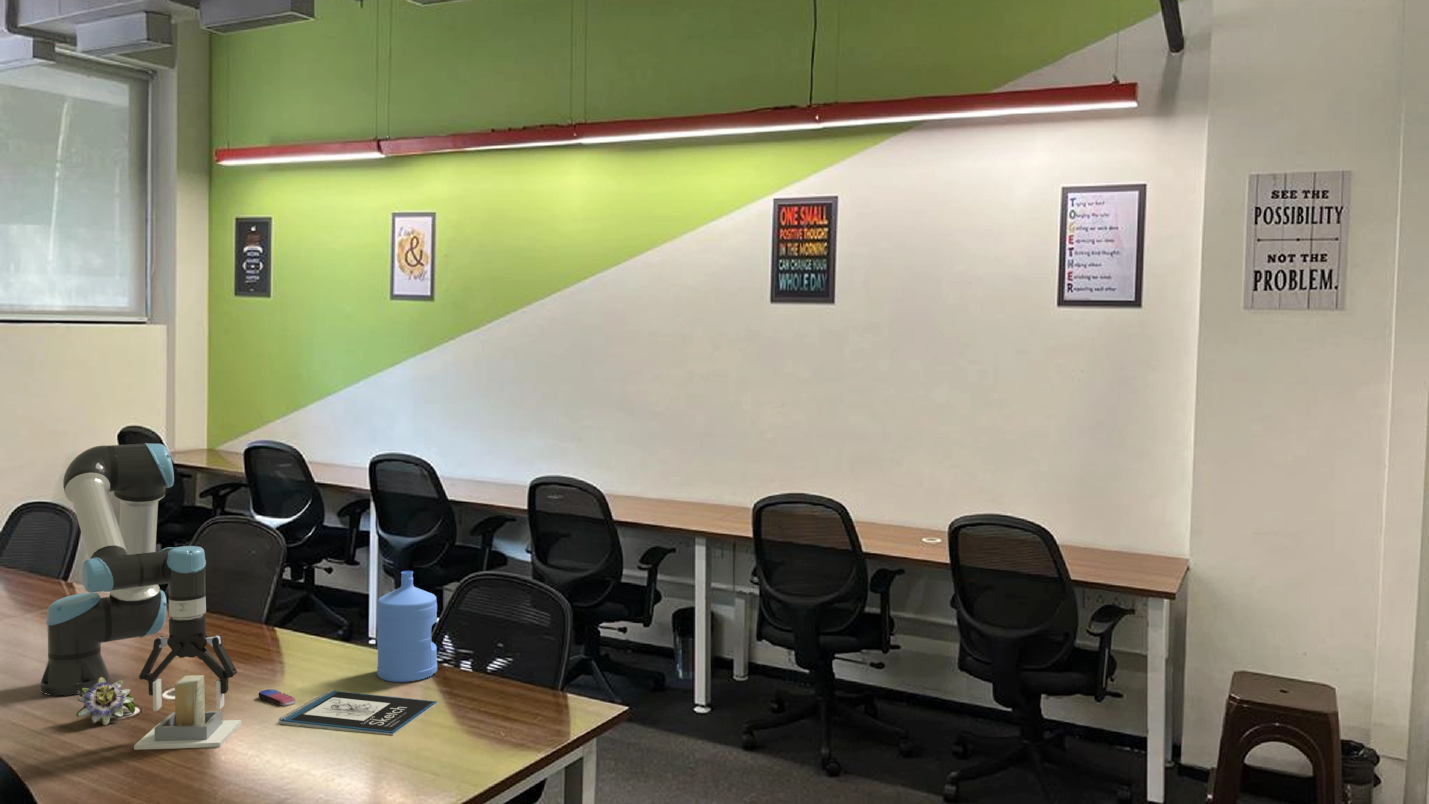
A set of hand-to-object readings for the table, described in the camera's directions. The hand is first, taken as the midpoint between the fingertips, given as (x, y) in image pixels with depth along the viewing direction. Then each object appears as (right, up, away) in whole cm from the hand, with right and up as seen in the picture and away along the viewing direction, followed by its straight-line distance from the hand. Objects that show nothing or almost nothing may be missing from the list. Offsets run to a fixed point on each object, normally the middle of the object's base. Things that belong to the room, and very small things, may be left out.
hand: (189, 708), depth 237 cm
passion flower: (-25, -6, +11) cm, 28 cm away
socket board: (0, -7, 0) cm, 7 cm away
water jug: (+36, -5, +47) cm, 59 cm away
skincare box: (0, -6, 0) cm, 6 cm away
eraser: (+10, -6, +25) cm, 27 cm away
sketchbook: (+33, -7, +16) cm, 38 cm away
